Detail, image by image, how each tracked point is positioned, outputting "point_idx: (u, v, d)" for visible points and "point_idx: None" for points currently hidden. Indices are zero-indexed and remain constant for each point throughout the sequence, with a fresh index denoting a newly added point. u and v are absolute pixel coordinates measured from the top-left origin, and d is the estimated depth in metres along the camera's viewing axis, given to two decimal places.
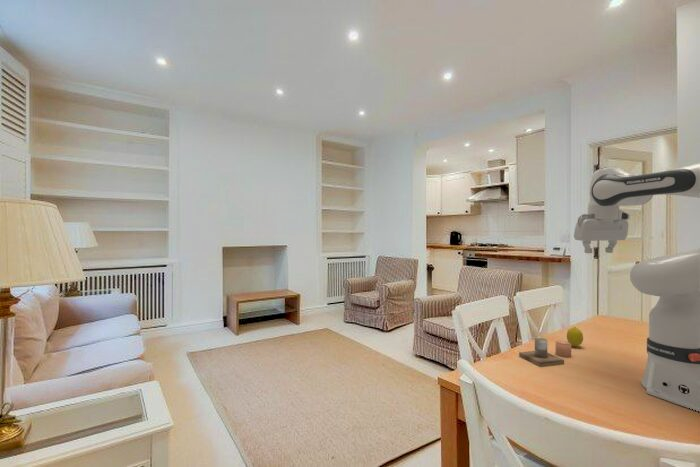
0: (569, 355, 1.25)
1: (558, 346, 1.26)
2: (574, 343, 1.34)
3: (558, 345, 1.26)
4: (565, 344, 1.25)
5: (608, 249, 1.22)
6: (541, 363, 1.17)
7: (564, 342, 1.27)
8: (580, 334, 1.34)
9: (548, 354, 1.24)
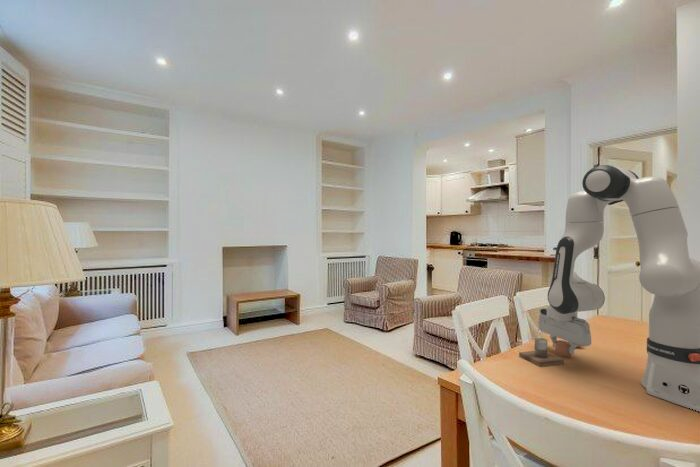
0: (569, 355, 1.25)
1: (558, 346, 1.26)
2: None
3: (558, 345, 1.26)
4: (565, 344, 1.25)
5: None
6: (541, 363, 1.17)
7: (564, 342, 1.27)
8: None
9: (548, 354, 1.24)
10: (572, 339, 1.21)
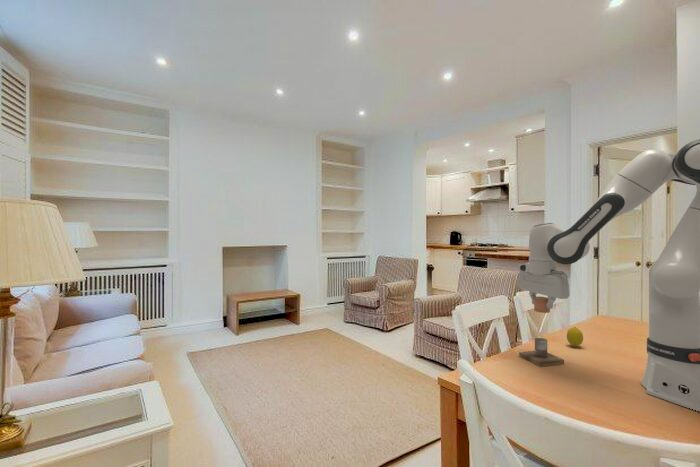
0: (548, 310, 1.20)
1: (537, 301, 1.22)
2: (574, 343, 1.34)
3: (536, 300, 1.22)
4: (544, 299, 1.21)
5: None
6: (541, 363, 1.17)
7: (543, 297, 1.22)
8: (580, 334, 1.34)
9: (548, 354, 1.24)
10: (550, 292, 1.17)
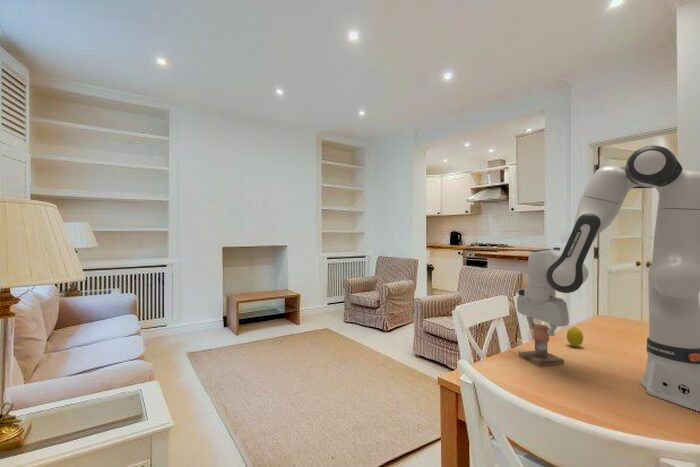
0: (547, 339, 1.20)
1: (536, 330, 1.21)
2: (574, 343, 1.34)
3: (536, 329, 1.21)
4: (543, 328, 1.20)
5: None
6: (541, 363, 1.17)
7: (542, 326, 1.22)
8: (580, 334, 1.34)
9: (548, 354, 1.24)
10: (549, 319, 1.16)
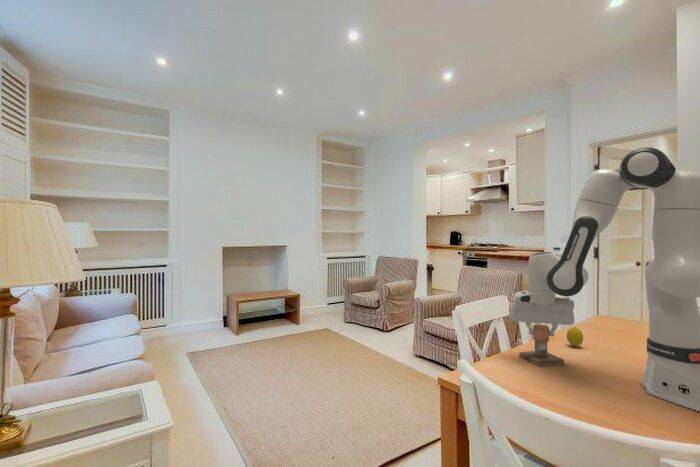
0: (547, 339, 1.20)
1: (536, 330, 1.21)
2: (574, 343, 1.34)
3: (536, 329, 1.21)
4: (543, 328, 1.20)
5: None
6: (541, 363, 1.17)
7: (542, 326, 1.22)
8: (580, 334, 1.34)
9: (548, 354, 1.24)
10: (560, 320, 1.19)
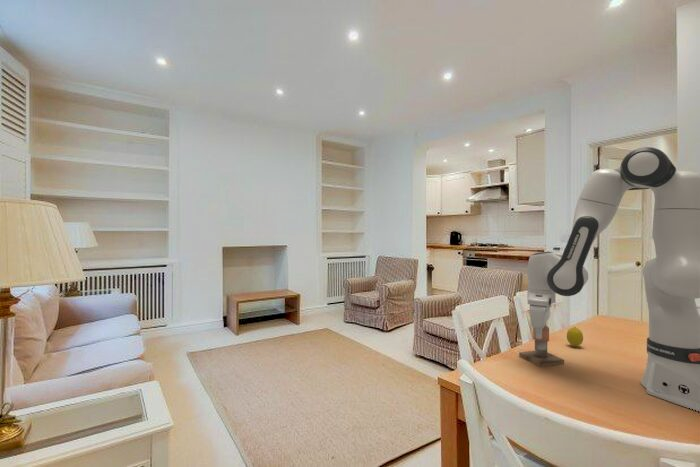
0: None
1: (545, 331, 1.20)
2: (574, 343, 1.34)
3: (544, 330, 1.20)
4: (547, 327, 1.21)
5: None
6: (541, 363, 1.17)
7: None
8: (580, 334, 1.34)
9: (548, 354, 1.24)
10: (548, 315, 1.26)
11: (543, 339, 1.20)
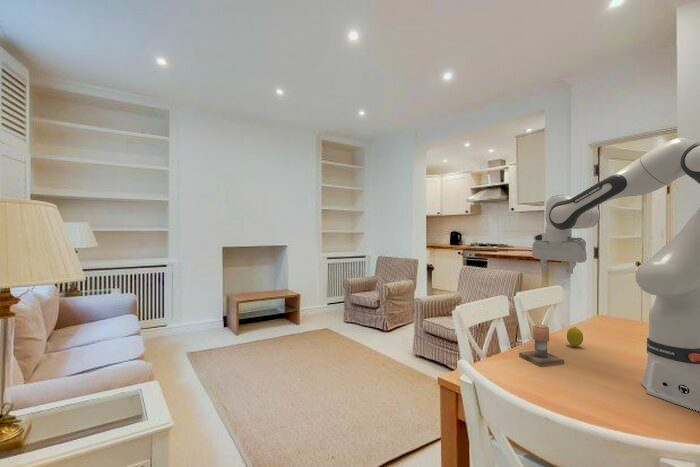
0: None
1: (545, 331, 1.20)
2: (574, 343, 1.34)
3: (544, 330, 1.20)
4: (547, 327, 1.21)
5: (548, 267, 1.37)
6: (541, 363, 1.17)
7: (542, 325, 1.22)
8: (580, 334, 1.34)
9: (548, 354, 1.24)
10: (568, 258, 1.27)
11: (543, 339, 1.20)
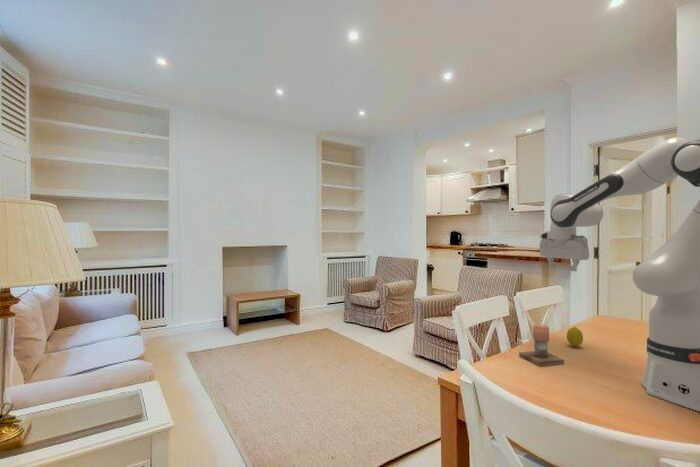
0: None
1: (545, 331, 1.20)
2: (574, 343, 1.34)
3: (544, 330, 1.20)
4: (547, 327, 1.21)
5: (554, 265, 1.39)
6: (541, 363, 1.17)
7: (542, 325, 1.22)
8: (580, 334, 1.34)
9: (548, 354, 1.24)
10: (571, 255, 1.30)
11: (543, 339, 1.20)
